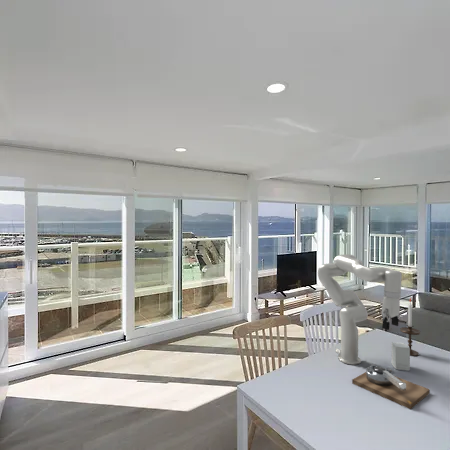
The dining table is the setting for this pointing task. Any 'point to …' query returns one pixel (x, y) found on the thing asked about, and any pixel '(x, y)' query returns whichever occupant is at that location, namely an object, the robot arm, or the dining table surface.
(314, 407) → the dining table surface
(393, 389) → the wooden base
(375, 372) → the faucet lever handle
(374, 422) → the dining table surface
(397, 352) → the supplement box
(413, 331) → the candlestick
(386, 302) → the robot arm
